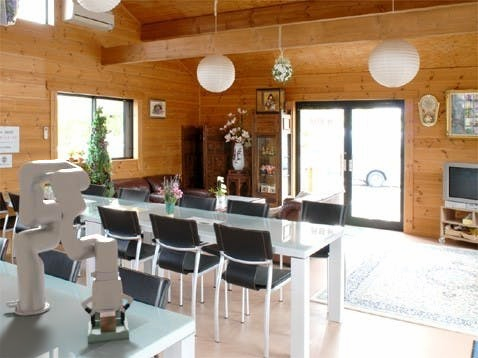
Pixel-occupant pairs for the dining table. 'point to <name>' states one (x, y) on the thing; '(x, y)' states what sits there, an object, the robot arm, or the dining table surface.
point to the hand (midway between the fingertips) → (108, 324)
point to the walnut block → (107, 322)
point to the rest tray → (97, 336)
